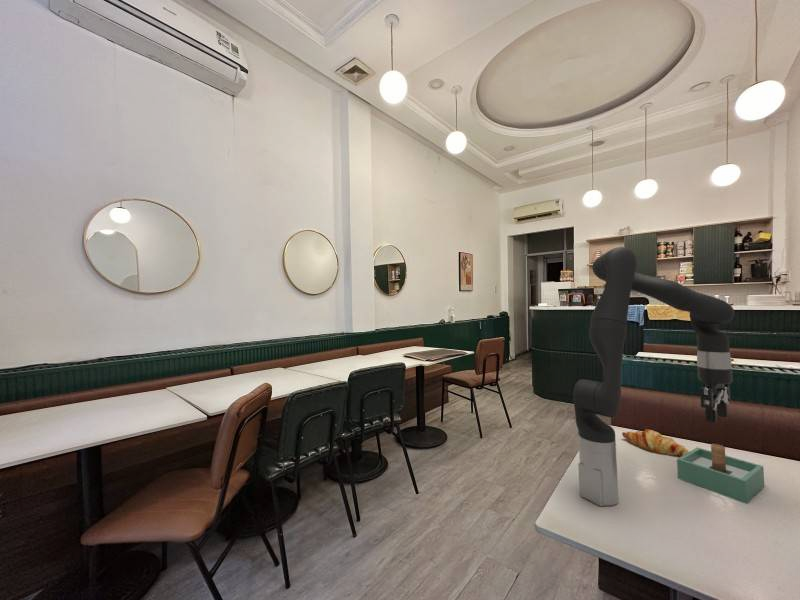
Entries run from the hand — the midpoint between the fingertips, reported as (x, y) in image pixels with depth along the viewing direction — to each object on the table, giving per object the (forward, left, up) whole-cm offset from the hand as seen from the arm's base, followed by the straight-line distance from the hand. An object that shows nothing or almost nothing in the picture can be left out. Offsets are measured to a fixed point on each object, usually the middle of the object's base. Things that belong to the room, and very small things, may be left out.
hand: (717, 419), depth 97 cm
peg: (0, 0, -18) cm, 18 cm away
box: (0, 0, -19) cm, 19 cm away
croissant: (+10, +21, -20) cm, 31 cm away
